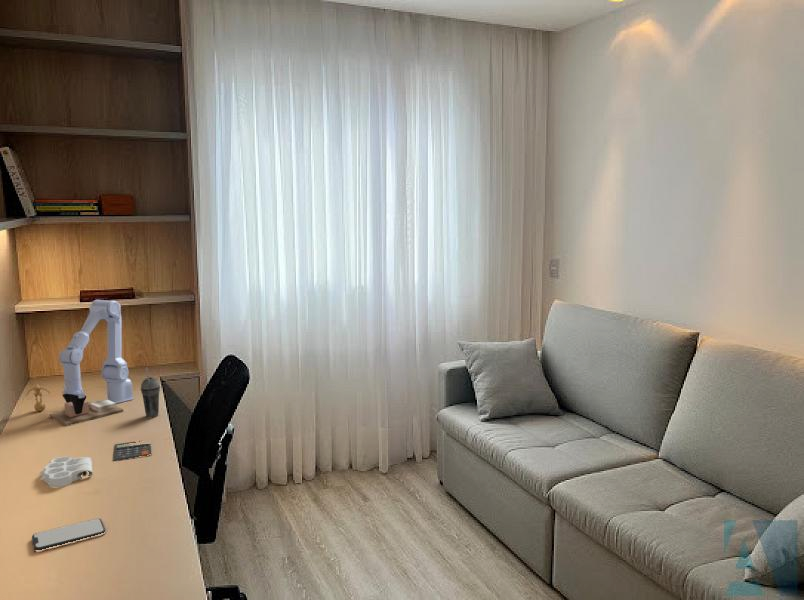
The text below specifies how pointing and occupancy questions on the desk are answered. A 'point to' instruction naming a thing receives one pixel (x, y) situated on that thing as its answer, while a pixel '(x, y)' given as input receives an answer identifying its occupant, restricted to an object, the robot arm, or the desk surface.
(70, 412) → the tall pink cuboid
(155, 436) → the desk surface
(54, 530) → the phone case
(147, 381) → the beverage cup
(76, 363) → the robot arm
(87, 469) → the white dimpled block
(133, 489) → the desk surface
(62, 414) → the ticket board
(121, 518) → the desk surface
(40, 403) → the figurine
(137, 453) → the calculator
